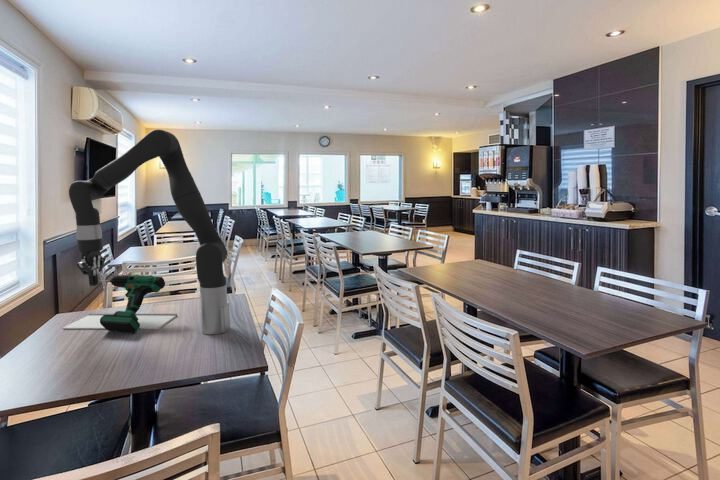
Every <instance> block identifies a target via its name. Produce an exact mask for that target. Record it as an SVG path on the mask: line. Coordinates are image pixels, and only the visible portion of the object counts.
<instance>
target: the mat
mask: <svg viewBox="0 0 720 480" xmlns="http://www.w3.org/2000/svg"><path fill="white" fill-rule="evenodd" d="M104 315H114V313H88V315H87V316H84V317H81V319H78V320H76V321H74V322H72V323H70V324H66V325H65V326H64V327H62V330H106V329H105V328H104V327H103V326H102V325H101V324H100V319H101V317H102V316H104ZM135 315H136V316H137V318H138V322H139V323H140V327H139V329H138V330H159V329H161V328H162V327H164V326H165V325H166V324H168V323H169V322H171V321H172V320H174V319H175V318H176V317H178V313H136V314H135Z"/></svg>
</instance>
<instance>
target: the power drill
mask: <svg viewBox="0 0 720 480" xmlns="http://www.w3.org/2000/svg"><path fill="white" fill-rule="evenodd" d="M98 282H110V283H111V285H112V286H113V287H117V288H121V289H123V288H124V289H125V290H126V291H127V292H125V294H124V296H125V297H126V298H128V300H127V303H126V307H125V310H124V311H123V310H117V311H115V312H114V313H113V314H114V315H104V316H102V317H101V319H100V324H101V325H102V326H103V327H104V328H105V329H104V330H106V331H108V332H116V333H117V332H118V333H130V334H131V333H132V334H136V332H138V330H140V329H139V327H140V323H139V322H138V318H137V316H136V315H135V314H137V312H138V311H139V309H140V308H141V305H142V304H143V301H144V298H145V296H146V295H148V294H151V293H159V292H160V291H161V290H162V289H164V288H165V286H166V281H165V278H164V277H162V276H154V275H151V274H150V275H146V274H145V275H144V274H142V275H141V274H132V275H131V274H125V275H124V274H123V275H115V276H113V277H112V278H111V279H108V280H106V279H98Z"/></svg>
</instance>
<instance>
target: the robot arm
mask: <svg viewBox="0 0 720 480" xmlns="http://www.w3.org/2000/svg"><path fill="white" fill-rule="evenodd" d="M158 157H159V159H160V160H161V162H162V163H163V166H164V168H165V170H166V172H167V175H168V180H169V189H170V194H171V197H172V200H173V202H174V204H175V207H176V209H177V211H178V213H179V214H180V216H181V218H182V219H183V220H184V221H185V223H186V224H188V226H189V227H190V228H191V229H192V231H193V232H194V234H195V236H196V239H197V240H198V244H199V247H198V248H197V249H196V252H195V266H196V267H195V268H196V277H197V280H198V282H199V294H200V295H199V296H200V297H199V298H200V311H201V312H200V316H201V317H200V318H201V332H202V334H205V335H217V334H225V333H226V332H228V330H230V328H231V316H230V315H231V314H230V311H231V310H230V303H229V302H228V294H227V293H228V291H227V290H228V289H227V277H226V276H225V274H224V265H223V263H224V262H225V261H226V259H227V257H228V252H227V251H228V250H227V247H226V245H225V243H224V242H223V240H222V238H221V237H220V235H219V233H218V232H217V230H216V227H215V225H214V223H213V221H212V218H211V216H210V214H209V210H208V209H207V205H206V204H205V201H204V199H203V197H202V194H201V192H200V190H199V188H198V187H197V183H196V181H195V180H194V177H193V175H192V173H191V171H190V170H189V167H188V165H187V162H186V160H185V156H184V154H183V150H182V147H181V144H180V141H179V139H178V138H177V137H176V136H175V135H174V134H173V133H172V132H169V131H168V130H167V131H166V130H163V129H153V130H151V131H150V132H148V133H147V134H145V136H143V137H142V138H141V139H140V140H139V141H138V142H137V143H135V145H133V146H132V147H131V148H129V149H128V150H127V151H126V152H124V153H123V154H121V155H120V156H119V157H118V158H115V159H114V160H112V161H110V162H109V163H107V164H106V165H103V167H101V168H99V169H98V170H97V171H95V173H94V175H93V177H92V178H89V179H88V180H76V181H73V182H72V183H71V184H70V186H69V188H68V196H69V200H70V204H71V206H72V208H73V211H74V213H75V221H76V223H75V224H76V230H75V231H76V234H75V235H76V244H77V245H76V246H77V251H78V252H79V253H81V256H80V258H81V260H80V262H77V263H76V266H77V267H78V269H79V270H80V271H81V272H82V274H83V275H84V276H88V284H89V286H92V287H93V286H94V287H95V286H98V285H99V273H101V272H102V270H103V269H104V265H105V263H106V259H107V258H106V256H102V253H101V251H103V250H104V243H103V242H104V241H103V233H102V228H101V220H100V219H101V218H100V217H101V215H100V211H99V209H97V208H95V207H94V205H93V202H92V201H95V200H98V199H99V198H101V197H102V196H104V195H105V194H106V193H107V192H108V191H109V190H110V189H111V188H113V187H115V186H117V185H119V184H120V183H122V182H124V181H125V180H126V179H127V178H129V177H130V176H131V175H132V174H134V172H135V171H136V170H137V169H138V168H139V167H141V166H142V165H144V164H145V163H147V162H149V161H151V160H154V159H156V158H158Z"/></svg>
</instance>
